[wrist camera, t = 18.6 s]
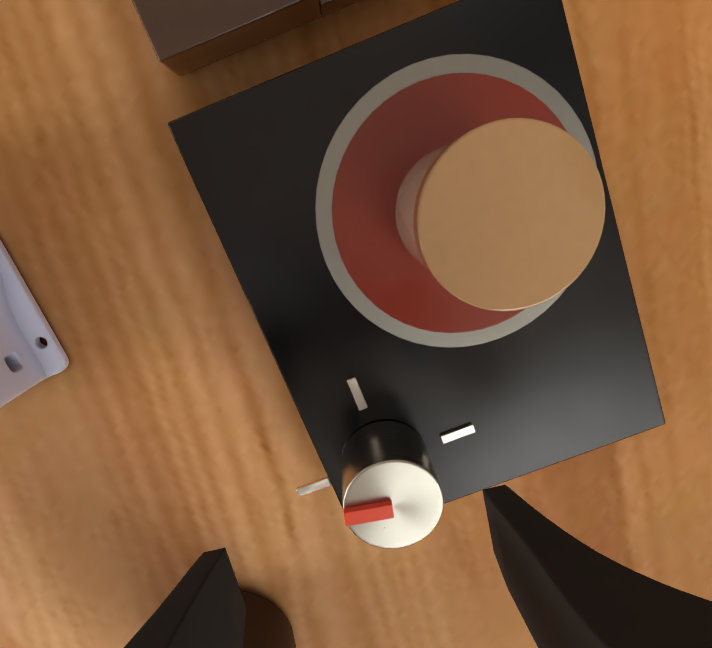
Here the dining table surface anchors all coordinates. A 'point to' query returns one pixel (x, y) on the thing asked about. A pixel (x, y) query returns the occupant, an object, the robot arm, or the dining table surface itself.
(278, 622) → the bottle
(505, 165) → the cream jar
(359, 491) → the dial
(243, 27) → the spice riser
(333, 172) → the burner
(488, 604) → the dining table surface
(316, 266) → the hot plate
